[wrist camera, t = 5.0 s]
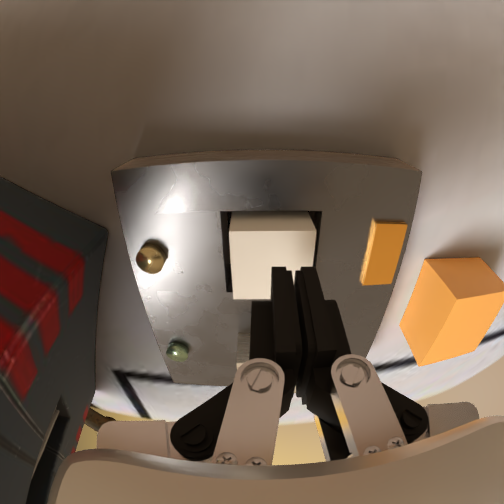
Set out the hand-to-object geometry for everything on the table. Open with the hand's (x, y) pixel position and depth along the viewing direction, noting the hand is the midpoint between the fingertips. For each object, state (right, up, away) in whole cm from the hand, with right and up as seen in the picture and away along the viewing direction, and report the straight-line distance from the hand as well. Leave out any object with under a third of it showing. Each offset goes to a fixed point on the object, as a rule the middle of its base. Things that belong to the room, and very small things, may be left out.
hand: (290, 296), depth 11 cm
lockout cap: (+16, -2, +9) cm, 18 cm away
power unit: (-30, -2, +10) cm, 31 cm away
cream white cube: (0, +3, +6) cm, 7 cm away
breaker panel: (0, 0, +8) cm, 8 cm away
